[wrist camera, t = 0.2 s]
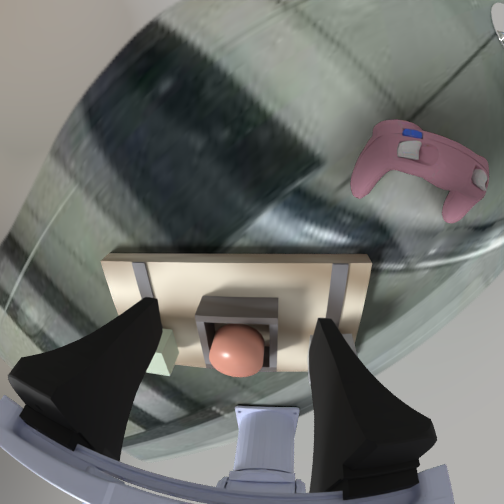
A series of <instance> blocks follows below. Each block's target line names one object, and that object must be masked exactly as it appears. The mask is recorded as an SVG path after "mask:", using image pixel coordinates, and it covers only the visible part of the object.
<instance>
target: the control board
mask: <svg viewBox="0 0 504 504" xmlns="http://www.w3.org/2000/svg"><path fill="white" fill-rule="evenodd" d="M101 264H102V267H103V270H104V274H105V277H106V280H107V283H108V286H109V289H110V292H111V295H112V298H113V301H114V304H115V306H116V309H117V312H118V315H120V314H122V313H123V312H125V311H126V310H128V309H129V308H130V307H132V306H133V305H134V304H136V303H137V302H139V301H140V300H141V299H143V298H145V297H151V298H157V299H158V305H159V311H160V318H161V324H162V329H172V330H173V333H174V337H175V340H176V344H177V347H178V350H179V354H178V357H177V360H176V362H175V364H177V365H185V366H194V367H204V368H210V369H216V368H214V367H213V365H212V364H211V362H210V360H209V353H210V350H211V346H212V343H213V339H214V336H215V333H216V331H217V330H218V329H219V328H221V327H222V326H224V325H227V324H245V325H248V326H251V327H253V328H255V329H256V330H258V331H259V332H260V333H261V335H262V336H263V338H264V342H265V345H264V358H263V366H262V368H261V369H260V370H259V371H261V372H277V371H308V364H307V356H308V348H309V340H310V335H313V334H314V330H315V327H316V323H317V320H318V318H331V319H332V320H333V321H334V323H335V325H336V326H337V328H338V329H339V331H340V332H341V334H352V337H353V340H354V344H355V340H356V336H357V332H358V328H359V324H360V320H361V316H362V311H363V307H364V302H365V298H366V293H367V288H368V283H369V278H370V272H371V267H372V262H371V260H370V259H369V257H368V255H367V254H161V253H109V254H108V255H107V256H106V257H104V258H103V259H102V260H101Z"/></svg>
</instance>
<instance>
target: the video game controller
mask: <svg viewBox="0 0 504 504" xmlns="http://www.w3.org/2000/svg"><path fill="white" fill-rule="evenodd" d="M390 170H398V171H401V172H404V173H408V174H411V175H415V176H418V177H422V178H424V179H425V180H427V181H428V182H430V183H431V184H433V185H435V186H436V187H438V188H441V189H444V190H450V192H449V193H448V195H447V197H446V200H445V202H444V205H443V210H442V215H443V219H444V220H445V221H446V222H447V223H455V222H457V221H459V220H460V219H461V218H462V217H464V216H465V215H466V213H467V212H468V211H469V210H470V209H471V208H472V207H473V206H474V205H475V204H476V203H477V202H479V201H480V200H481V199H482V198H483V197H484V196H485V193H486V190H487V187H488V183H489V166H488V162H487V160H486V159H485V158H484V157H482V156H480V155H477V154H475V153H474V152H473V151H471V150H470V149H468V148H467V147H465V146H463V145H461V144H459V143H458V142H455V141H453V140H451V139H448V138H446V137H443V136H440V135H437V134H434V133H430V132H426V131H423V130H422V129H421V128H420V127H419V126H417V125H416V124H414V123H411V122H408V121H404V120H385V121H382V122H380V123H378V124H377V125H375V127H374V128H373V135H372V137H371V138H370V139H369V141H368V142H367V144H366V146H365V147H364V149H363V151H362V152H361V154H360V156H359V158H358V160H357V162H356V164H355V167H354V170H353V173H352V177H351V183H350V185H351V191H352V193H353V195H354V196H355V197H356V198H359V199H360V198H363V197H364V196H366V195H367V194H369V193H370V191H371V190H372V189H373V187H374V186H375V184H376V183H377V182H378V181H379V180H380V178H381V177H382V176H383V175H384V174H385V173H387V172H388V171H390Z"/></svg>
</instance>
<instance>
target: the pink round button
mask: <svg viewBox="0 0 504 504" xmlns="http://www.w3.org/2000/svg"><path fill="white" fill-rule="evenodd" d="M264 345H265V342H264V338H263V336H262V335H261V333H260V332H259V331H258V330H256V329H255V328H253V327H251V326H248V325H245V324H227V325H224V326H222V327H221V328H219V329H218V330H217V331H216V333H215V336H214V339H213V343H212V346H211V350H210V353H209V360H210V362H211V364H212V365H213V367H214V368H216V369H217V370H218V371H220V372H221V373H224V374H226V375H229V376H234V377H247V376H251V375H253V374H255V373H257V372H258V371H259V370H260V369H261V368H262V366H263V358H264Z"/></svg>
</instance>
